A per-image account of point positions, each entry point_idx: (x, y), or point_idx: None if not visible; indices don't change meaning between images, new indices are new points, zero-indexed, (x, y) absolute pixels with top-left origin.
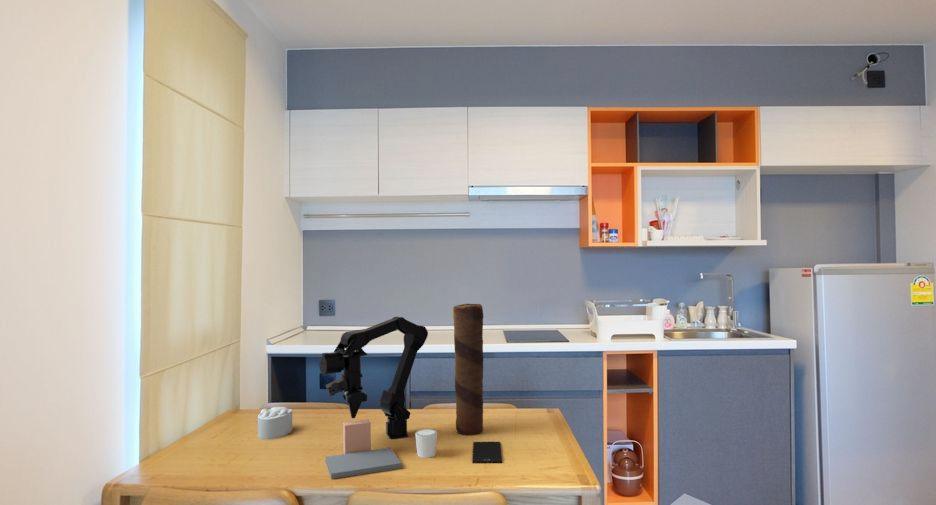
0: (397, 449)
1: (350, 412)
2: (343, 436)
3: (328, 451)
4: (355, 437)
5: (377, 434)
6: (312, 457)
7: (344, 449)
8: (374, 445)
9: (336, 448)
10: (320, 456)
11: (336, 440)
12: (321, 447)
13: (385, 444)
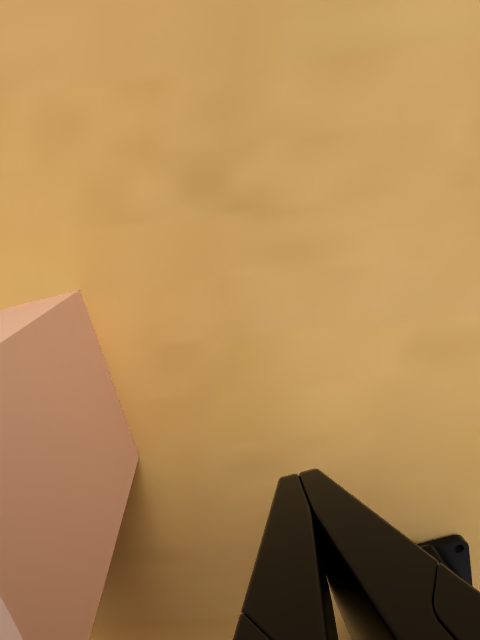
0: (142, 609)
1: (302, 529)
2: (7, 334)
3: (161, 155)
4: None
5: (471, 479)
6: (15, 17)
7: (2, 316)
8: (243, 480)
9: (226, 217)
10: (38, 95)
11: (429, 194)
12: (276, 75)
13: (250, 541)
